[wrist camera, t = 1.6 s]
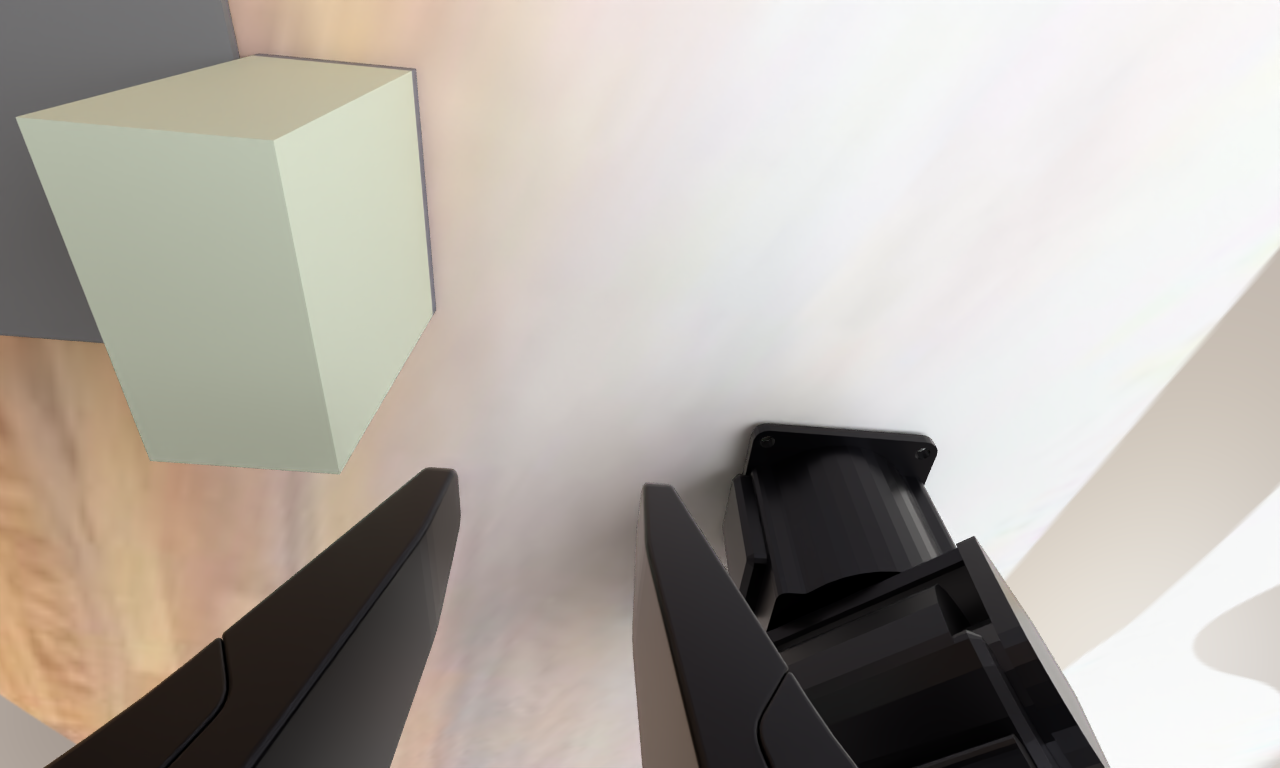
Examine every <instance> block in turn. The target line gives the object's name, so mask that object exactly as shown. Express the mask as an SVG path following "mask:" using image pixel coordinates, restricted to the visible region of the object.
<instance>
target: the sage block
mask: <svg viewBox="0 0 1280 768" xmlns="http://www.w3.org/2000/svg"><path fill="white" fill-rule="evenodd" d="M16 120H17V123H18V125H19V128H20V130H21V133H22V135H23V138H24V140H25V143H26V146H27V148H28V151H29V153H30V156H31V158H32V161H33V163H34V166H35V168H36V171H37V174H38V176H39V179H40V181H41V184H42V186H43V189H44V191H45V194H46V197H47V199H48V202H49V204H50V207H51V209H52V212H53V214H54V217H55V219H56V222H57V225H58V227H59V230H60V232H61V235H62V237H63V240H64V242H65V245H66V247H67V250H68V253H69V255H70V258H71V260H72V263H73V265H74V268H75V270H76V273H77V276H78V278H79V281H80V283H81V286H82V288H83V291H84V293H85V296H86V298H87V301H88V304H89V306H90V309H91V311H92V314H93V316H94V319H95V321H96V324H97V327H98V329H99V332H100V334H101V337H102V339H103V342H104V344H105V347H106V349H107V352H108V355H109V357H110V360H111V362H112V365H113V367H114V370H115V372H116V375H117V377H118V380H119V383H120V385H121V388H122V390H123V393H124V395H125V398H126V400H127V403H128V406H129V408H130V411H131V413H132V416H133V418H134V421H135V423H136V426H137V428H138V431H139V434H140V436H141V439H142V441H143V444H144V446H145V449H146V451H147V454H148V457H149V459H150V461H158V462H172V463H187V464H201V465H215V466H229V467H243V468H257V469H271V470H285V471H300V472H314V473H328V474H340V473H341V471H342V470H343V468H344V466H345V465H346V463H347V461H348V460H349V458H350V456H351V454H352V453H353V451H354V449H355V448H356V446H357V444H358V442H359V441H360V439H361V437H362V436H363V434H364V432H365V430H366V429H367V427H368V425H369V424H370V422H371V420H372V418H373V417H374V415H375V413H376V412H377V410H378V408H379V407H380V405H381V403H382V401H383V400H384V398H385V396H386V395H387V393H388V391H389V389H390V388H391V386H392V384H393V383H394V381H395V379H396V377H397V376H398V374H399V372H400V371H401V369H402V367H403V365H404V364H405V362H406V360H407V359H408V357H409V355H410V354H411V352H412V350H413V348H414V347H415V345H416V343H417V342H418V340H419V338H420V336H421V335H422V333H423V331H424V330H425V328H426V326H427V324H428V323H429V321H430V319H431V318H432V316H433V314H434V312H435V311H436V303H435V291H434V279H433V267H432V255H431V243H430V231H429V219H428V207H427V195H426V184H425V172H424V160H423V148H422V136H421V124H420V112H419V100H418V88H417V76H416V69H413V68H403V67H392V66H382V65H372V64H361V63H351V62H341V61H330V60H320V59H310V58H299V57H289V56H279V55H268V54H256V55H252V56H248V57H244V58H240V59H237V60H233V61H229V62H225V63H221V64H217V65H214V66H210V67H206V68H202V69H198V70H194V71H190V72H187V73H183V74H179V75H175V76H171V77H167V78H164V79H160V80H156V81H152V82H148V83H144V84H141V85H137V86H133V87H129V88H125V89H121V90H117V91H114V92H110V93H106V94H102V95H98V96H94V97H91V98H87V99H83V100H79V101H75V102H71V103H67V104H64V105H60V106H56V107H52V108H48V109H44V110H41V111H37V112H33V113H29V114H25V115H21V116H18V117H16Z"/></svg>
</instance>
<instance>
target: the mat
mask: <svg viewBox="0 0 1280 768" xmlns="http://www.w3.org/2000/svg"><path fill="white" fill-rule="evenodd" d="M237 59H240V57H239V52H238V47H237V43H236V38H235V33H234V29H233V24H232V19H231V14H230V10H229V5H228V0H0V335H6V336H19V337H31V338H44V339H57V340H70V341H83V342H96V343H104V342H103V339H102V337H101V334H100V332H99V329H98V327H97V324H96V321H95V319H94V316H93V314H92V311H91V309H90V306H89V304H88V301H87V298H86V296H85V293H84V291H83V288H82V286H81V283H80V281H79V278H78V276H77V273H76V270H75V268H74V265H73V263H72V260H71V258H70V255H69V253H68V250H67V247H66V245H65V242H64V240H63V237H62V235H61V232H60V230H59V227H58V225H57V222H56V219H55V217H54V214H53V212H52V209H51V207H50V204H49V202H48V199H47V197H46V194H45V191H44V189H43V186H42V184H41V181H40V179H39V176H38V174H37V171H36V168H35V166H34V163H33V161H32V158H31V156H30V153H29V151H28V148H27V146H26V143H25V140H24V138H23V135H22V133H21V130H20V128H19V125H18V123H17V120H16V117H18V116H21V115H25V114H29V113H33V112H37V111H41V110H44V109H48V108H52V107H56V106H60V105H64V104H67V103H71V102H75V101H79V100H83V99H87V98H91V97H94V96H98V95H102V94H106V93H110V92H114V91H117V90H121V89H125V88H129V87H133V86H137V85H141V84H144V83H148V82H152V81H156V80H160V79H164V78H167V77H171V76H175V75H179V74H183V73H187V72H190V71H194V70H198V69H202V68H206V67H210V66H214V65H217V64H221V63H225V62H229V61H233V60H237Z"/></svg>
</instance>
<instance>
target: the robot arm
mask: <svg viewBox="0 0 1280 768" xmlns="http://www.w3.org/2000/svg"><path fill="white" fill-rule="evenodd" d="M767 436H770V437H772V438H771V439H770V440H768V441H762V440H761V439H762V438H764V437H767ZM921 448H925V449H924V450H923V451H921V452H917V451H918V450H919V449H921ZM937 451H938V450H937V448H936V446H935V444H934V442H933V441H932V439H931V438H929V437H927V436H923V435H910V434H897V433H884V432H871V431H858V430H845V429H831V428H818V427H805V426H792V425H779V424H762V425H760V426H757V427H756V428H755V429H754V430H753V432H752V434H751V439H750V443H749V448H748V452H747V457H746V461H745V466H744V470H743V474H738V475H737V476H736V477H735V478H734V479H733V480H732V485H731V489H730V494H729V499H728V503H727V508H726V513H725V517H724V522H723V534H724V542H725V549H726V557H727V564H728V571H729V574H728V572H727V570H726V569H725V567H724V566H723V564H722V563H721V561H720V559H719V558H718V556H717V555H716V553H715V552H714V550H713V549H712V547H711V545H710V544H709V542H708V541H707V539H706V538H705V536H704V534H703V533H702V531H701V530H700V528H699V527H698V525H697V523H696V522H695V520H694V519H693V517H692V516H691V514H690V513H689V511H688V509H687V508H686V506H685V505H684V503H683V502H682V500H681V498H680V497H679V495H678V494H677V492H676V491H675V489H674V488H673V487H672V486H671V485H669V484H658V483H645V484H644V485H643V486H642V490H641V498H640V506H639V515H638V523H637V534H636V554H635V578H634V602H633V635H632V641H633V659H634V671H635V683H636V695H637V707H638V719H639V731H640V743H641V755H642V767H643V768H1110V766H1109V764H1108V762H1107V760H1106V758H1105V756H1104V754H1103V751H1102V749H1101V747H1100V745H1099V743H1098V741H1097V739H1096V737H1095V735H1094V732H1093V730H1092V728H1091V726H1090V724H1089V722H1088V720H1087V718H1086V715H1085V713H1084V711H1083V709H1082V707H1081V705H1080V703H1079V701H1078V699H1077V697H1076V695H1075V693H1074V691H1073V690H1072V688H1071V686H1070V684H1069V683H1068V681H1067V679H1066V678H1065V676H1064V674H1063V673H1062V671H1061V669H1060V668H1059V666H1058V664H1057V663H1056V661H1055V660H1054V658H1053V656H1052V654H1051V653H1050V651H1049V649H1048V648H1047V646H1046V644H1045V643H1044V641H1043V639H1042V638H1041V636H1040V634H1039V633H1038V631H1037V629H1036V627H1035V626H1034V624H1033V623H1032V621H1031V620H1030V618H1029V617H1028V615H1027V614H1026V612H1025V611H1024V609H1023V608H1022V606H1021V605H1020V603H1019V602H1018V600H1017V599H1016V597H1015V596H1014V594H1013V593H1012V591H1011V590H1010V588H1009V587H1008V585H1007V584H1006V582H1005V581H1004V579H1003V578H1002V576H1001V575H1000V573H999V572H998V570H997V569H996V567H995V566H994V564H993V563H992V561H991V560H990V558H989V557H988V555H987V554H986V553H985V551H984V550H983V548H982V547H981V545H980V544H979V542H978V541H977V539H976V538H975V536H973V537H971V538H969V539H966V540H964V541H962V542H960V543H957V544H956V545H957V548H956V546H955V544H954V542H953V540H952V538H951V536H950V534H949V532H948V531H947V529H946V527H945V525H944V523H943V521H942V519H941V517H940V515H939V513H938V511H937V510H936V508H935V506H934V504H933V502H932V500H931V498H930V496H929V494H928V492H927V490H926V489H925V487H924V484H925V482H926V479H927V477H928V475H929V472H930V470H931V467H932V465H933V463H934V460H935V458H936V456H937ZM460 518H461V510H460V497H459V484H458V475H457V473H456V471H455V470H453V469H449V468H435V467H428V468H425V469H423V470H422V471H421V472H419V473H418V474H417V475H416V476H415V477H413V478H412V479H411V480H410V481H408V482H407V483H406V484H405V485H404V486H402V487H401V488H400V489H399V490H397V491H396V492H395V493H394V494H393V495H391V496H390V497H389V498H388V499H386V500H385V501H384V502H383V503H382V504H380V505H379V506H378V507H377V508H375V509H374V510H373V511H372V512H371V513H369V514H368V515H367V516H366V517H364V518H363V519H362V520H361V521H360V522H358V523H357V524H356V525H355V526H353V527H352V528H351V529H350V530H349V531H347V532H346V533H345V534H344V535H342V536H341V537H340V538H339V539H338V540H336V541H335V542H334V543H333V544H331V545H330V546H329V547H328V548H327V549H325V550H324V551H323V552H322V553H320V554H319V555H318V556H317V557H316V558H314V559H313V560H312V561H311V562H309V563H308V564H307V565H306V566H305V567H303V568H302V569H301V570H300V571H298V572H297V573H296V574H295V575H294V576H292V577H291V578H290V579H289V580H287V581H286V582H285V583H284V584H283V585H281V586H280V587H279V588H278V589H276V590H275V591H274V592H273V593H272V594H270V595H269V596H268V597H267V598H265V599H264V600H263V601H262V602H261V603H259V604H258V605H257V606H256V607H254V608H253V609H252V610H251V611H250V612H248V613H247V614H246V615H245V616H243V617H242V618H241V619H240V620H239V621H237V622H236V623H235V624H234V625H232V626H231V627H230V628H229V629H228V630H226V631H225V632H224V633H223V635H222V638H223V640H222V639H221V638H217V639H215V640H214V641H213V642H211V643H210V644H209V645H208V646H206V647H205V648H204V649H203V650H202V651H200V652H199V653H198V654H197V655H195V656H194V657H193V658H192V659H191V660H189V661H188V662H187V663H185V664H184V665H183V666H182V667H180V668H179V669H178V670H177V671H175V672H174V673H173V674H171V675H170V676H169V677H168V678H166V679H165V680H164V681H163V682H161V683H160V684H159V685H157V686H156V687H155V688H154V689H152V690H151V691H150V692H149V693H147V694H146V695H145V696H143V697H142V698H141V699H139V700H138V701H137V702H135V703H134V704H132V705H131V706H130V707H128V708H127V709H125V710H124V711H123V712H121V713H120V714H119V715H117V716H116V717H114V718H113V719H112V720H110V721H109V722H108V723H106V724H105V725H103V726H102V727H101V728H99V729H98V730H97V731H95V732H94V733H92V734H91V735H90V736H88V737H87V738H85V739H84V740H83V741H81V742H80V743H78V744H77V745H75V746H74V747H73V748H71V749H70V750H68V751H67V752H66V753H64V754H63V755H61V756H60V757H58V758H57V759H55V760H54V761H53V762H51V763H50V764H48V765H47V766H45V767H44V768H390V766H391V763H392V760H393V757H394V754H395V751H396V748H397V745H398V742H399V739H400V737H401V734H402V731H403V728H404V725H405V722H406V719H407V716H408V713H409V711H410V708H411V705H412V702H413V699H414V696H415V693H416V690H417V687H418V685H419V682H420V679H421V676H422V673H423V670H424V667H425V664H426V661H427V658H428V656H429V653H430V650H431V647H432V644H433V641H434V637H435V634H436V631H437V628H438V623H439V619H440V615H441V611H442V606H443V602H444V597H445V593H446V588H447V583H448V579H449V574H450V569H451V565H452V560H453V556H454V551H455V546H456V542H457V537H458V532H459V527H460Z"/></svg>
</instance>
